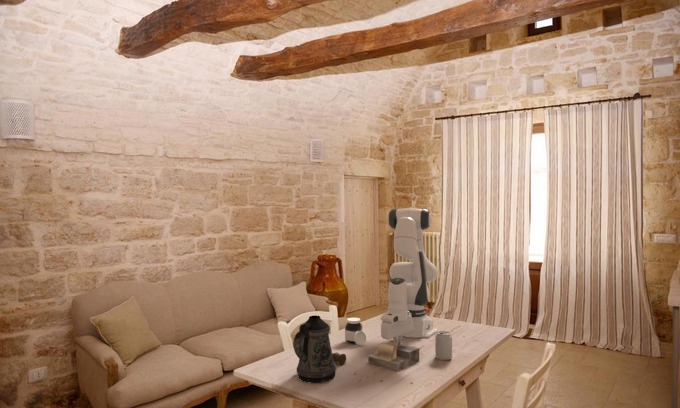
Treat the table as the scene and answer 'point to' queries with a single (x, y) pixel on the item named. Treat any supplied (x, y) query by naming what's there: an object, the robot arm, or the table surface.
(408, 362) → the stair block
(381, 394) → the table surface
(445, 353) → the can
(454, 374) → the table surface
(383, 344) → the maple cube
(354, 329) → the spread jar
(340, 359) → the kendama
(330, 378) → the beer stein
